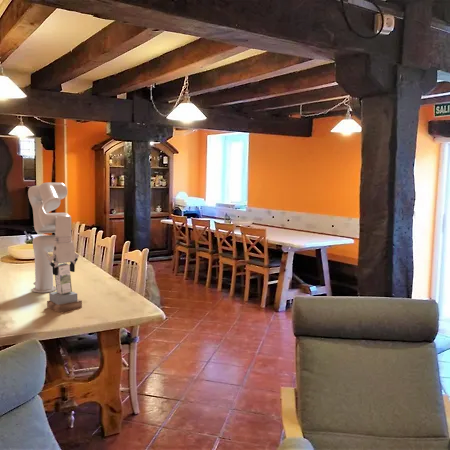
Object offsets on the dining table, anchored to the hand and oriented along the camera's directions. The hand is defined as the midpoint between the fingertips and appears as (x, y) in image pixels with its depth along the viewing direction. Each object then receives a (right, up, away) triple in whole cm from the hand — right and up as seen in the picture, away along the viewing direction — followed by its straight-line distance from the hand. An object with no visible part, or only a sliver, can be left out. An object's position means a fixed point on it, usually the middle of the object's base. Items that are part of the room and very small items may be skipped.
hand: (63, 273), depth 235 cm
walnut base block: (0, -18, +2) cm, 18 cm away
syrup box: (0, -10, +1) cm, 10 cm away
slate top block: (-1, -14, +2) cm, 14 cm away
